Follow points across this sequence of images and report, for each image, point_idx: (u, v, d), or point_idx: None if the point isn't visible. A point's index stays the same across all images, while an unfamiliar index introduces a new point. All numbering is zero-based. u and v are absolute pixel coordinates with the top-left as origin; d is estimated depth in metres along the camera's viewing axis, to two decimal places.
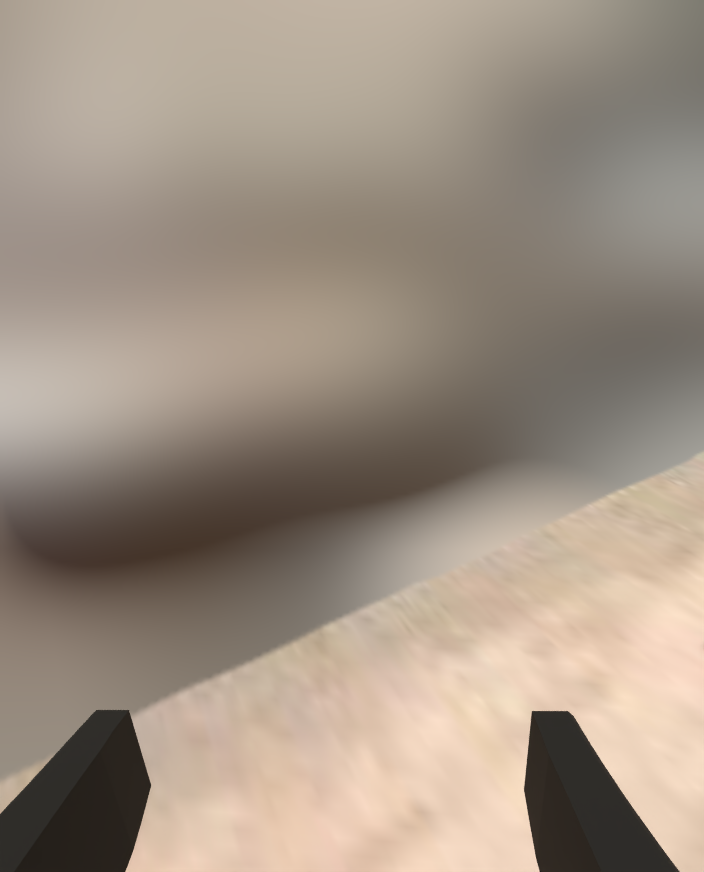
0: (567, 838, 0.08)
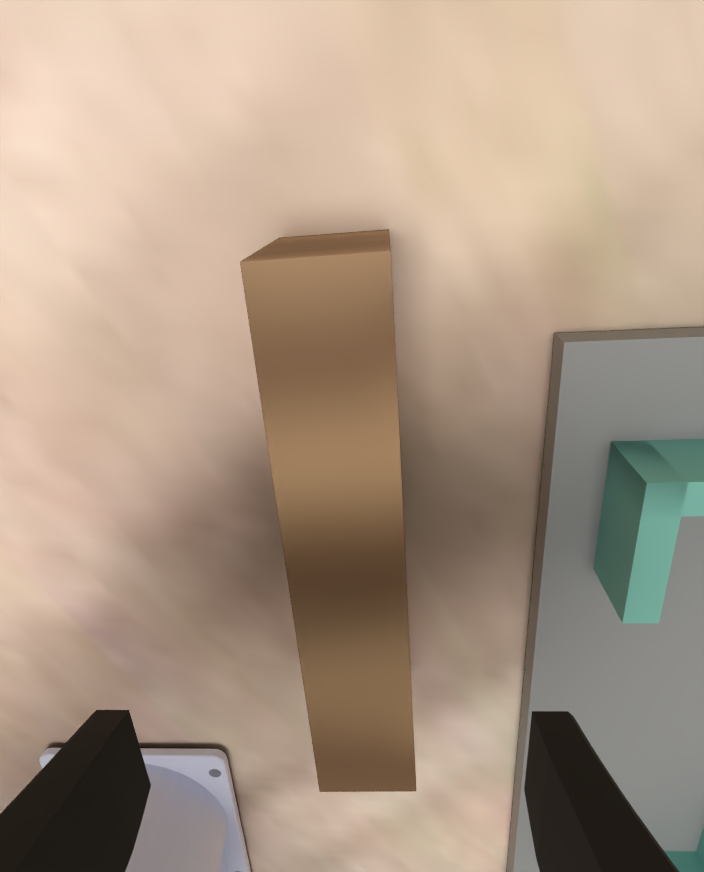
0: (567, 838, 0.08)
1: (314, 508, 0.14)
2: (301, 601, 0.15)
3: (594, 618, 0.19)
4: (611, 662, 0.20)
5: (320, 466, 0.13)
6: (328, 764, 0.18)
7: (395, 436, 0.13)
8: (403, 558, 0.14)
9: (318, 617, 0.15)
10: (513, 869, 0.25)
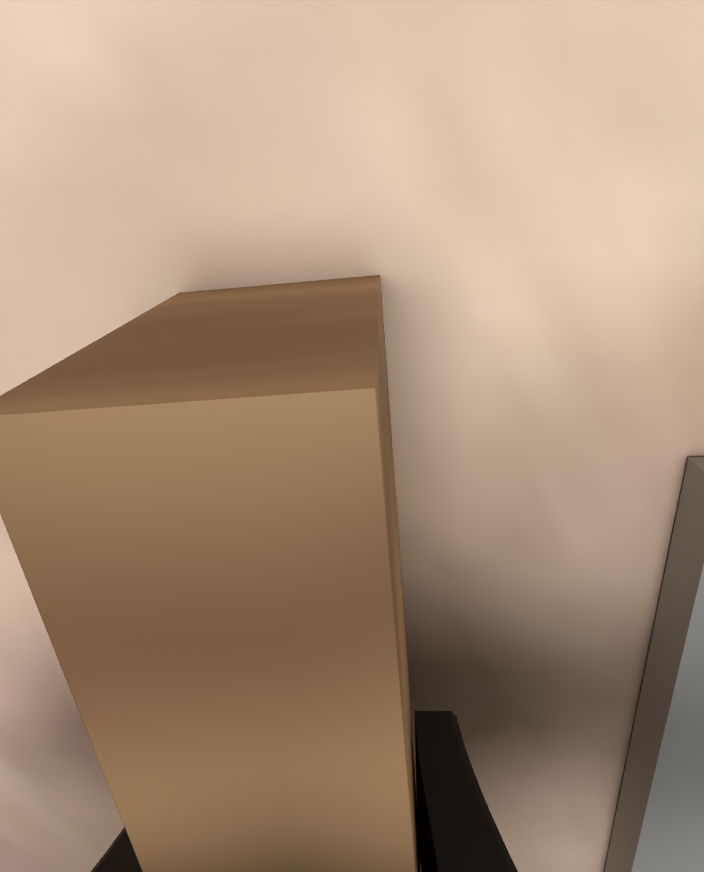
0: (426, 836, 0.08)
1: None
2: None
3: None
4: None
5: (231, 825, 0.06)
6: None
7: (399, 779, 0.06)
8: None
9: None
10: None
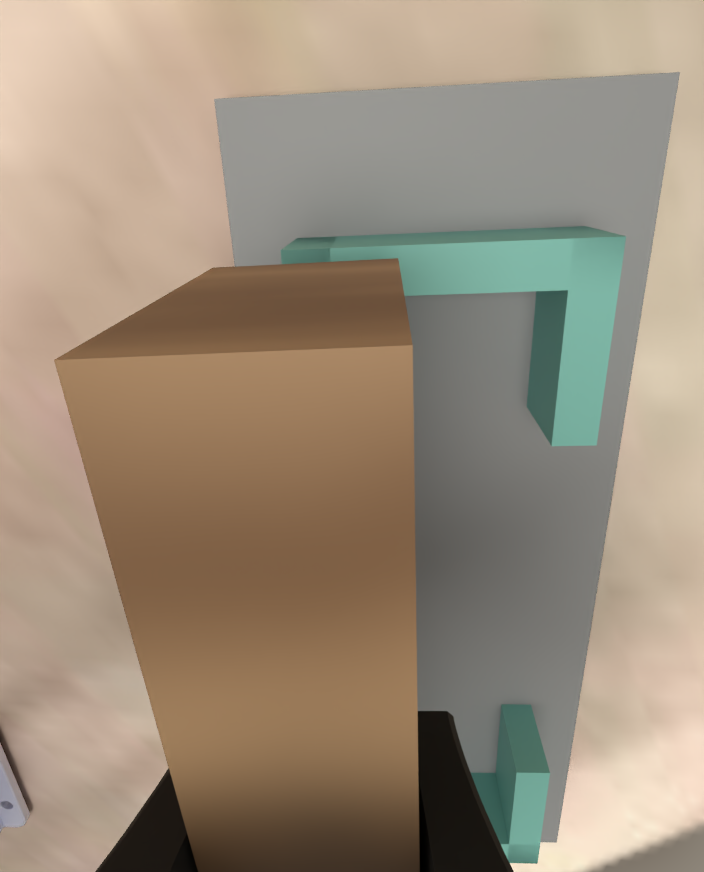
0: (423, 835, 0.08)
1: (249, 803, 0.07)
2: None
3: None
4: None
5: (258, 741, 0.07)
6: None
7: (409, 700, 0.06)
8: None
9: None
10: None
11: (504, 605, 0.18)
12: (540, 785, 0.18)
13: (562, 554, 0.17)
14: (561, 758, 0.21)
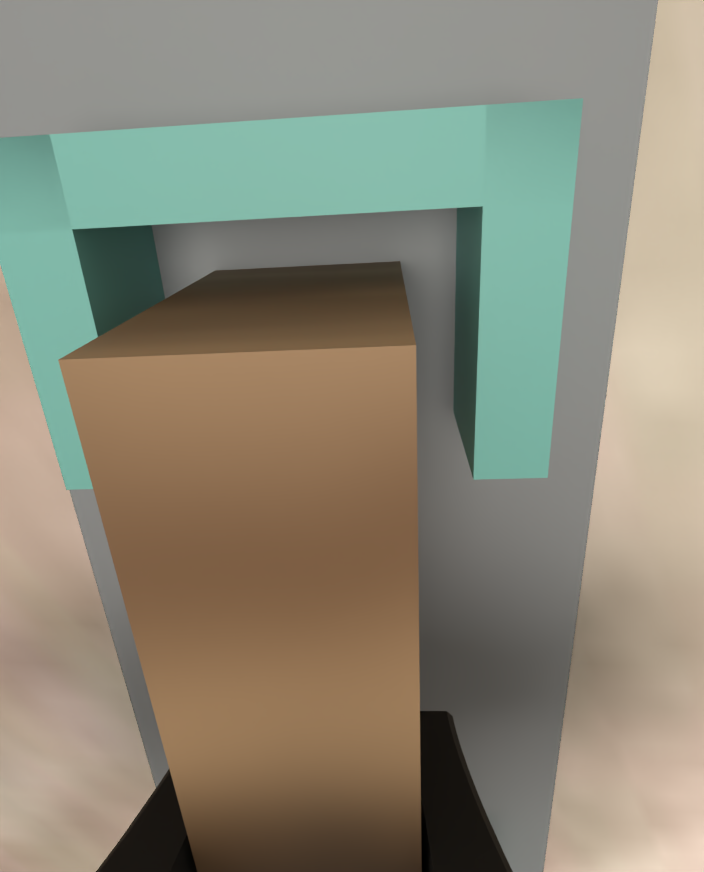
0: (422, 835, 0.08)
1: (250, 806, 0.07)
2: None
3: None
4: None
5: (260, 744, 0.07)
6: None
7: (412, 702, 0.06)
8: None
9: None
10: None
11: (440, 689, 0.13)
12: None
13: (518, 622, 0.12)
14: None
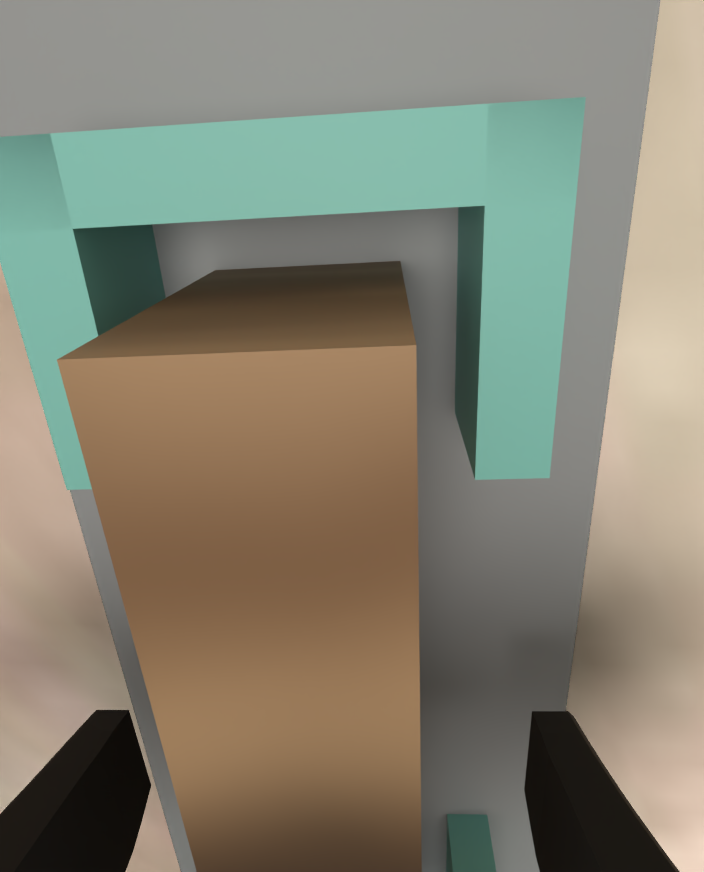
0: (567, 837, 0.08)
1: (249, 807, 0.07)
2: None
3: None
4: None
5: (259, 745, 0.07)
6: None
7: (412, 704, 0.06)
8: None
9: None
10: None
11: (441, 690, 0.13)
12: None
13: (519, 622, 0.12)
14: None
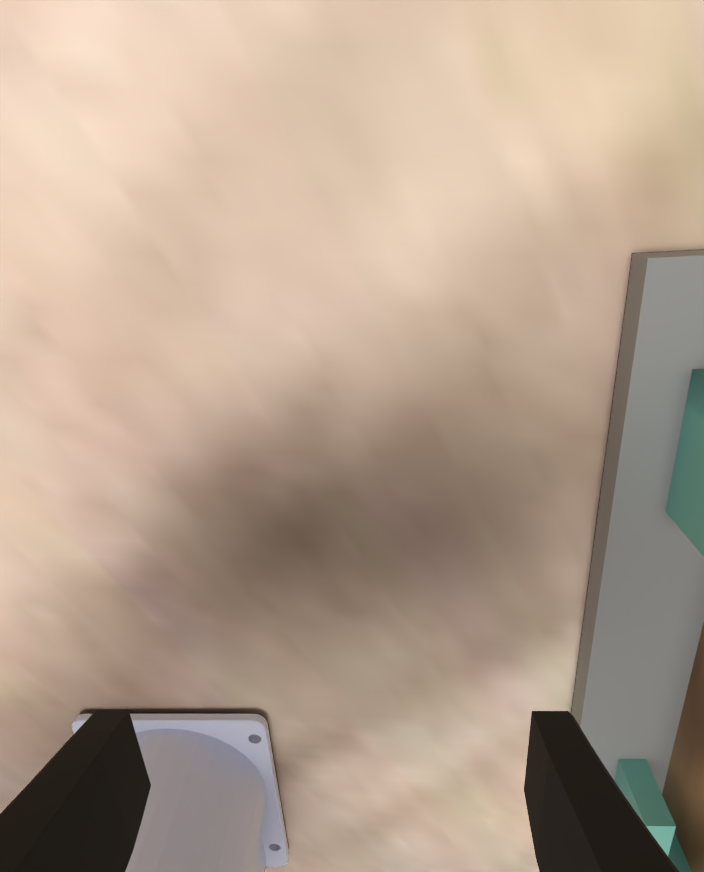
0: (567, 838, 0.08)
1: None
2: None
3: (664, 566, 0.18)
4: (679, 614, 0.19)
5: None
6: None
7: None
8: None
9: None
10: None
11: None
12: None
13: None
14: None
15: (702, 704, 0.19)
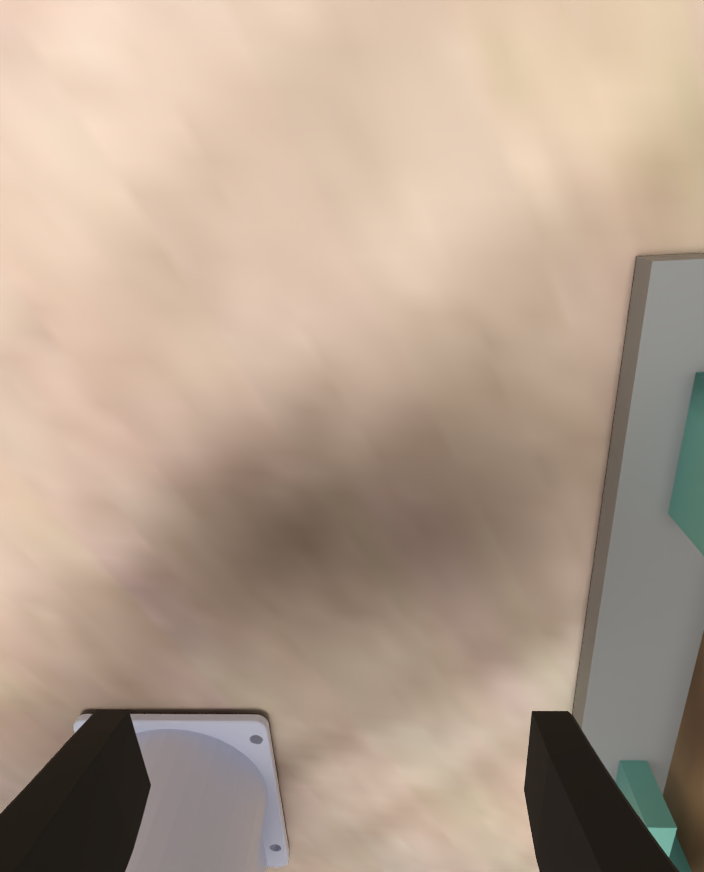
0: (567, 838, 0.08)
1: None
2: None
3: (666, 568, 0.18)
4: (681, 616, 0.19)
5: None
6: None
7: None
8: None
9: None
10: None
11: None
12: None
13: None
14: None
15: (703, 706, 0.20)
